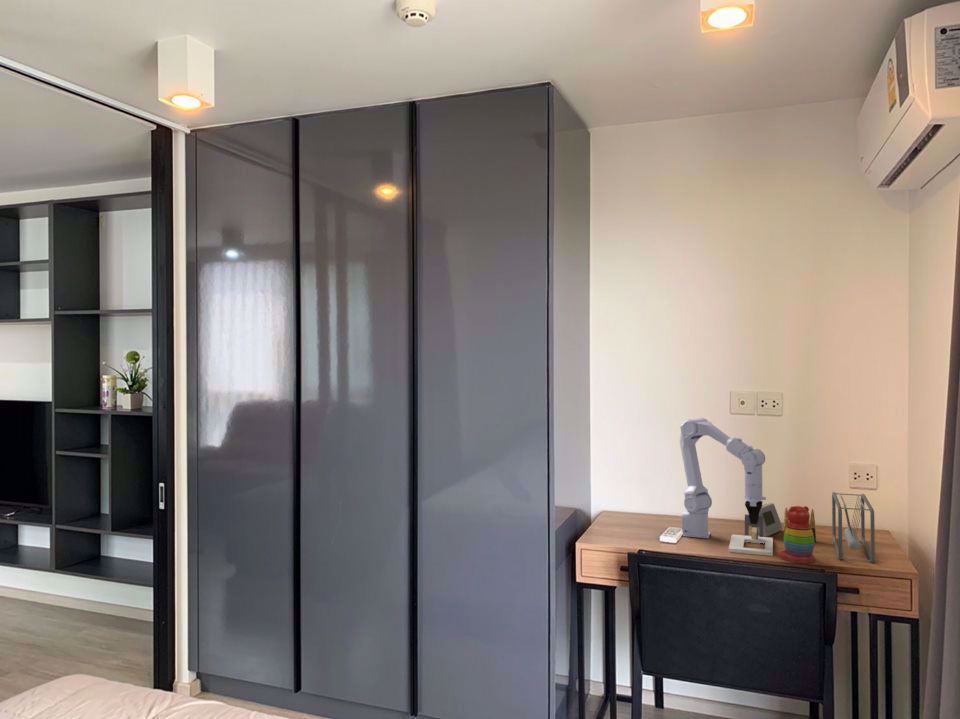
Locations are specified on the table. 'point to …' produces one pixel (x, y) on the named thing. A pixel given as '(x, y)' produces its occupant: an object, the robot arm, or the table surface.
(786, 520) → the ammunition clip
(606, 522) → the table surface
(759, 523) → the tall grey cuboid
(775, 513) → the digital clock
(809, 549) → the stacking bear
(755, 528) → the white slotted board
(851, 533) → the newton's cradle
